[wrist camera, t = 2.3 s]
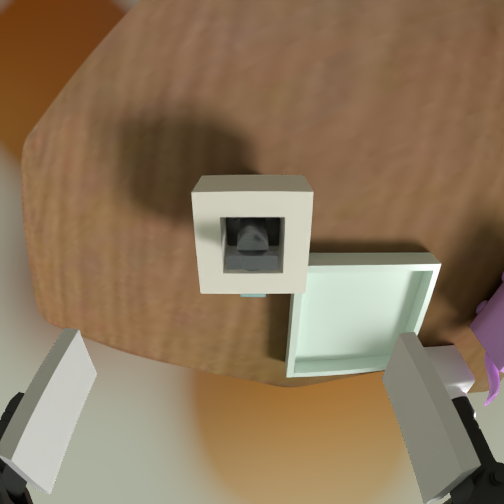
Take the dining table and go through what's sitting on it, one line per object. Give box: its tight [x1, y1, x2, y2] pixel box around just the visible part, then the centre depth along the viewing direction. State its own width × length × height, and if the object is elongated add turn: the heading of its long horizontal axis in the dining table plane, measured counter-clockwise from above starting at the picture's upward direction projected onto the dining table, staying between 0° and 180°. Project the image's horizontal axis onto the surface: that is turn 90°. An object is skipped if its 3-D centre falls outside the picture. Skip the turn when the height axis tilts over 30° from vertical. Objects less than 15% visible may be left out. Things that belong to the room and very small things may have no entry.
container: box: [423, 345, 476, 417], centre depth 35 cm, size 8×8×13 cm
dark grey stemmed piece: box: [226, 217, 280, 271], centre depth 25 cm, size 6×6×11 cm
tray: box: [285, 252, 441, 377], centre depth 35 cm, size 16×16×3 cm
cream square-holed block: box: [191, 175, 313, 297], centre depth 25 cm, size 9×8×4 cm
